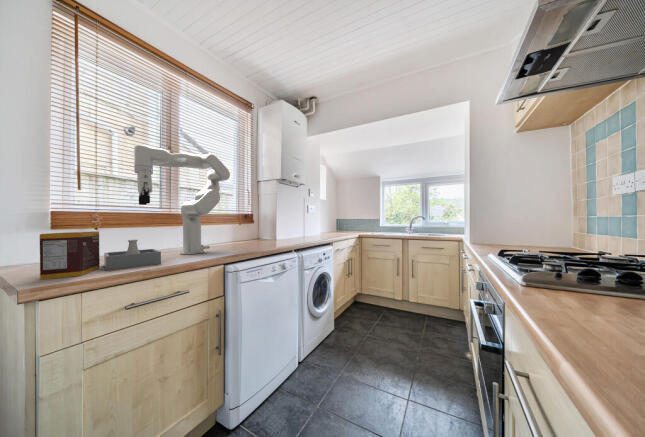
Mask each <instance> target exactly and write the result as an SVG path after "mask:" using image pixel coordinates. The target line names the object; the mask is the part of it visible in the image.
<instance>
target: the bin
mask: <svg viewBox="0 0 645 437" xmlns="http://www.w3.org/2000/svg"><path fill="white" fill-rule="evenodd" d="M138 250H139V252H140V253H137V254H126V252H127V250H124V251H123V250H122V251H120V250H119V251H109V252H104V253H103V256H104V257H103V260H104V261H103V262H104V264H103V265H104V268H105V271H111V270H120V269H121V270H122V269H128V268H135V267H145V266H146V267H147V266H153V265H162V251H160V250H158V249H154V248H149V249H148V248H146V249H145V248H144V249H138Z"/></svg>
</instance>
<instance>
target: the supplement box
mask: <svg viewBox="0 0 645 437" xmlns="http://www.w3.org/2000/svg"><path fill="white" fill-rule="evenodd" d="M100 260H101V259H100V231H99V230H98V231H69V232H68V231H66V232H49V233H39V280H48V279H49V280H50V279H60V278H71V277H81V276H85V275H87V274H89V273H92V272H94V271H97V270H99V269H100V263H101V262H100Z"/></svg>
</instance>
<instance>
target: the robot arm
mask: <svg viewBox="0 0 645 437" xmlns="http://www.w3.org/2000/svg"><path fill="white" fill-rule="evenodd" d="M133 155H134V156H133V160H134V161H133V164H134V167H133V168H134V169H133V170H134V171H133V172H134V173H135V174H137V178H136V181H137V184H136V185H137V193H138V205H140V206H146V205H147V204H150V203H151V196H150V194H151V193H152V192H153V181H152V179H153V178H152V175H154V166H155V167H165V168H167V167H169V168H189V169H199V170H200V169H201V170H205V169H206V170H207V169H210V170H208V171H207V173H206V180H207V184H206V185H205V186H204V187H203V188H202V189H201V190H199V191H198V192H197V193H196V194H195V197H194V200H188V201H185V202H184V203H182V204H181V207H180V213H181V217H182V248H183V249H182V251H180V252H179V253H180V255H196V254H203V253H205V250H209V249H210V248H211V247H210V246H211V245H204V244H202V222H201V219H200V217H203V216H205V217H206V215H208V214H209V213H211V211H212V210H213V209H215V207H216V206H217V205H218V204H219V203H220V200H221V195H220V190H221V189H220V188H221V187H220V182H224V181H227V180H229V179H230V176H231V172H230V171H229V169H228V168H227V166H226V165H225V164H224V163H223V162H222V161H221V159H219V158H218V157H217V156H216V155H215V154H212V153H207V154H194V153H189V152H178V153H171V152H170V151H168V150H167V149H165V148H157V147H151V146H149V145H144V144H135V146H134V147H133Z"/></svg>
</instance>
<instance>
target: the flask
mask: <svg viewBox="0 0 645 437" xmlns="http://www.w3.org/2000/svg"><path fill="white" fill-rule="evenodd" d="M127 241H128V247H127V250H126V251H127V252H126V254H137V253H140V252H139V250H140V249H139V248H138V239H128V240H127Z"/></svg>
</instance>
